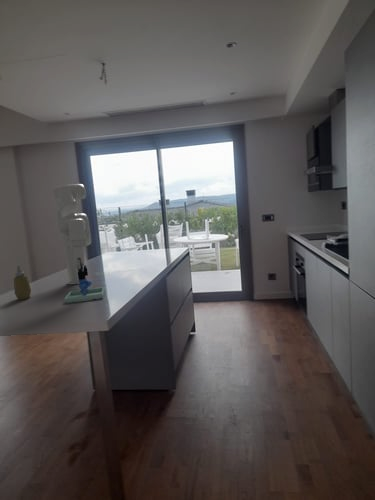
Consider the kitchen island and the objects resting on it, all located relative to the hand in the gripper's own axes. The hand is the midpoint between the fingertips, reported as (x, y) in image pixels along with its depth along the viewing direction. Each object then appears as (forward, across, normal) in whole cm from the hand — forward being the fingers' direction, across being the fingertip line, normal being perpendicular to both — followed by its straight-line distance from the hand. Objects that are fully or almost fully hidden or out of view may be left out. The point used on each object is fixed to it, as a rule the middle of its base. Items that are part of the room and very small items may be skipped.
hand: (83, 277), depth 168 cm
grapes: (+10, -2, 0) cm, 10 cm away
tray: (+10, 0, 0) cm, 10 cm away
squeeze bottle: (+11, -16, -35) cm, 40 cm away
